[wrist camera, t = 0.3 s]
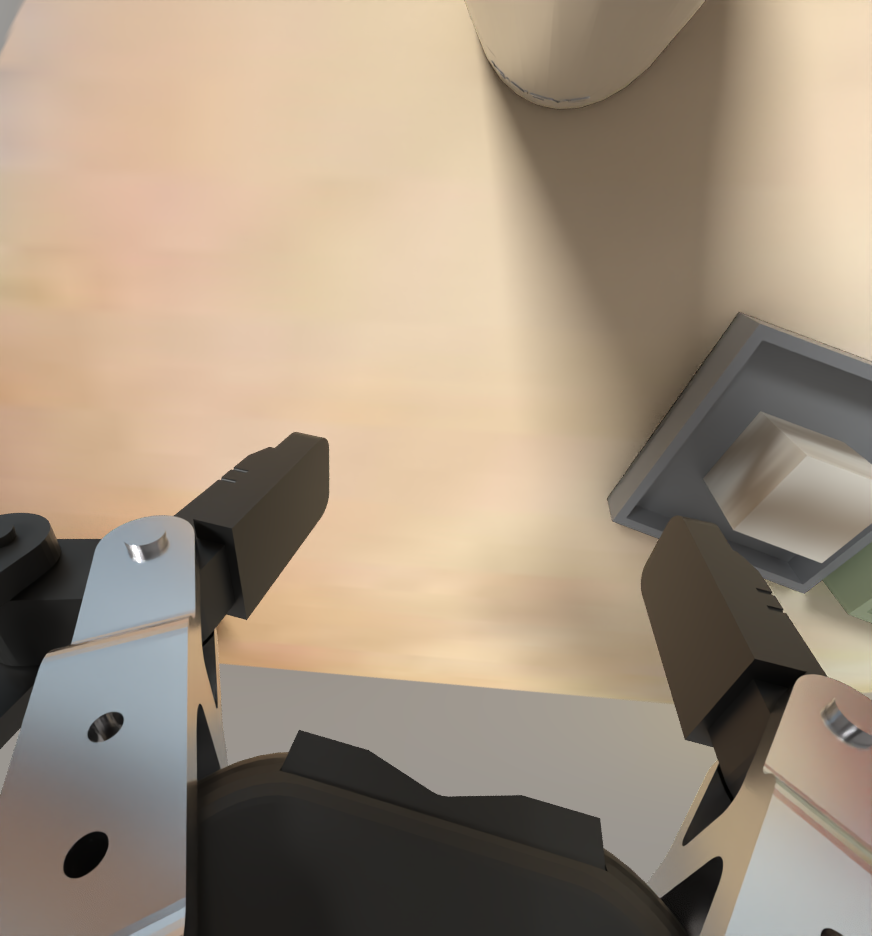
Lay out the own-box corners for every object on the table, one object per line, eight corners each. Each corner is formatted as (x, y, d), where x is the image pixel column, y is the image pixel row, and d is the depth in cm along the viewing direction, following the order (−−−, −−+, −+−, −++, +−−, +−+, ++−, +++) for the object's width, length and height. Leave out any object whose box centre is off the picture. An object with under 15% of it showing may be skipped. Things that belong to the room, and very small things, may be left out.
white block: (760, 411, 24) (807, 455, 19) (844, 442, 24) (908, 493, 19) (702, 478, 26) (733, 530, 22) (777, 506, 26) (821, 563, 22)
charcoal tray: (739, 311, 22) (760, 323, 20) (979, 401, 22) (1026, 422, 20) (607, 498, 29) (612, 521, 27) (785, 565, 29) (804, 593, 27)
